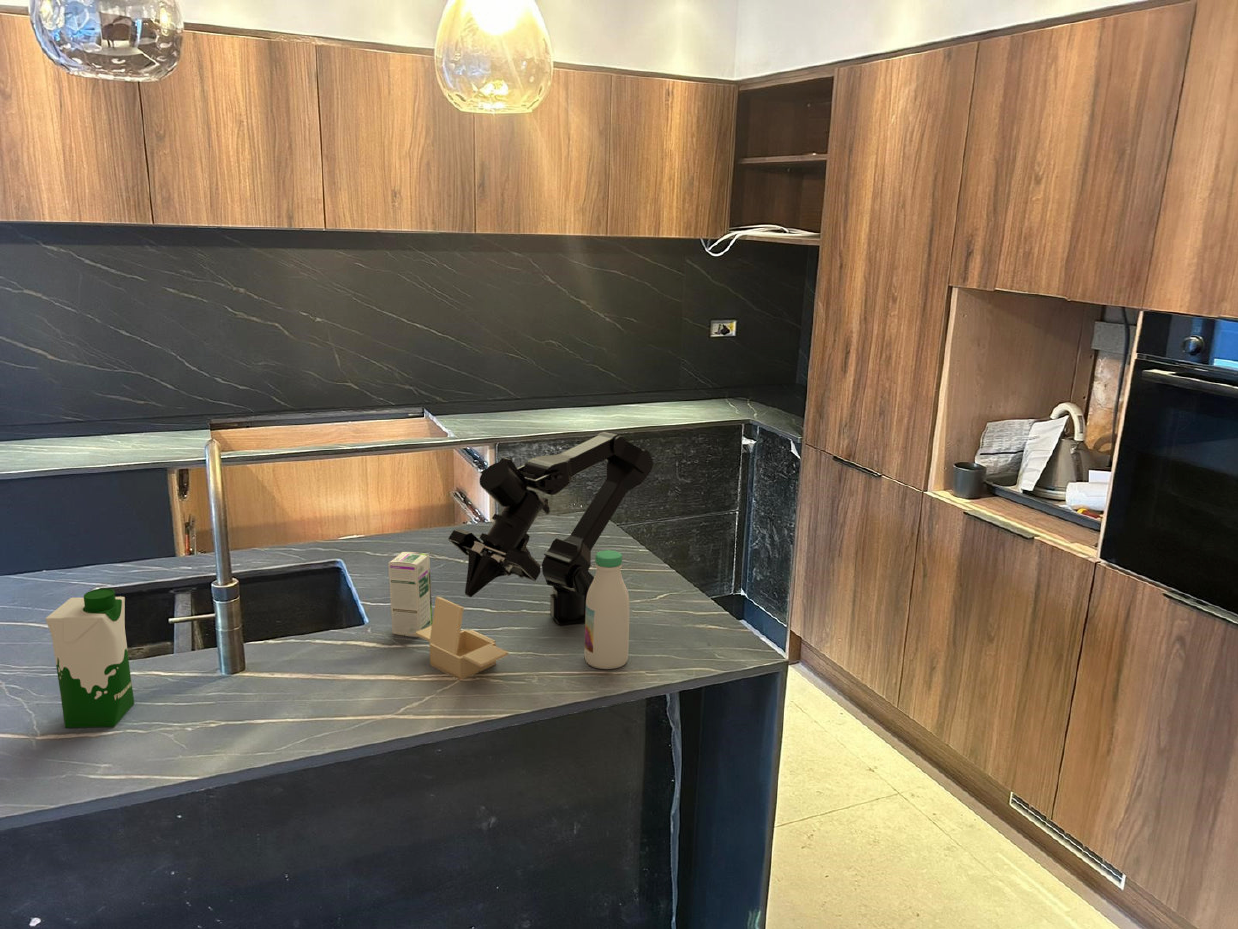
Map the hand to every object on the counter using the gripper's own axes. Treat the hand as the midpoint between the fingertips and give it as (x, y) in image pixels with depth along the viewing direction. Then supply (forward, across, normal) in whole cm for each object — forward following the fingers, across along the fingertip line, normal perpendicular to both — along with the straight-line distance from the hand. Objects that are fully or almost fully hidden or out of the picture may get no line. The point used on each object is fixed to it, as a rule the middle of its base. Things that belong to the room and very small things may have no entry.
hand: (467, 595), depth 155 cm
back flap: (+10, 0, -2) cm, 10 cm away
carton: (+10, 0, -8) cm, 13 cm away
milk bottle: (-3, -17, -21) cm, 27 cm away
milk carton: (+44, +27, +26) cm, 58 cm away
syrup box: (+8, +18, -10) cm, 22 cm away
